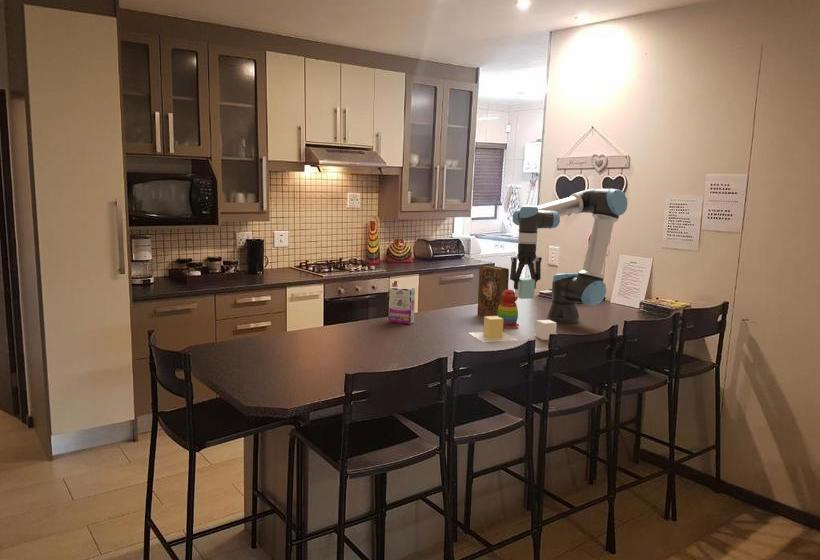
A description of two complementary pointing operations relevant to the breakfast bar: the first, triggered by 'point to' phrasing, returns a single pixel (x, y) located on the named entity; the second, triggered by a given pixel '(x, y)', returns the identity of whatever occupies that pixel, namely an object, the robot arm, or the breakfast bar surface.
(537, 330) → the brick
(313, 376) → the breakfast bar surface
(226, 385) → the breakfast bar surface
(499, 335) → the brick base
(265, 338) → the breakfast bar surface
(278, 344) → the breakfast bar surface
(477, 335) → the build plate
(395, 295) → the candy bar box
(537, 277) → the robot arm
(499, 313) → the stacking bear
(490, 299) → the book
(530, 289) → the brick
